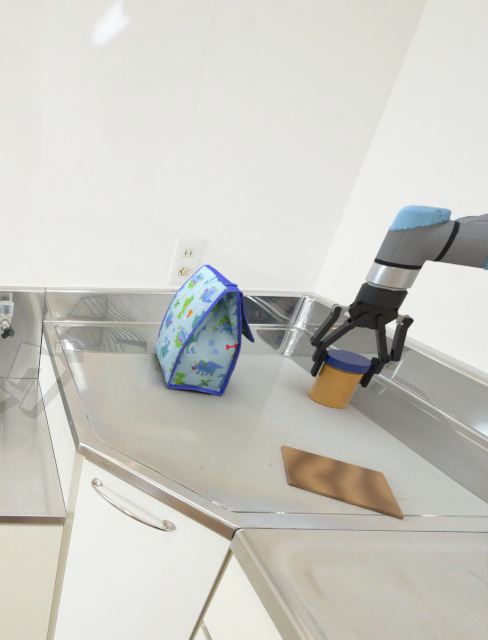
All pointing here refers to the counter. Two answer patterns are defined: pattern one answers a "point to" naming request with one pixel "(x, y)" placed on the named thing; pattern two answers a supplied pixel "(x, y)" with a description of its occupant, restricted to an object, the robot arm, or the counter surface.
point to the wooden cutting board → (340, 481)
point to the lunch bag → (203, 333)
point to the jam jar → (334, 386)
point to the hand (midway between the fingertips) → (337, 379)
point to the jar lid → (348, 361)
